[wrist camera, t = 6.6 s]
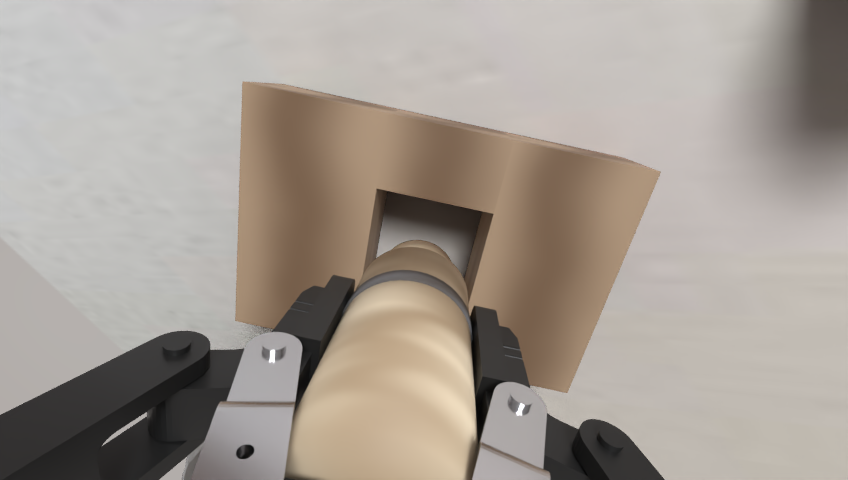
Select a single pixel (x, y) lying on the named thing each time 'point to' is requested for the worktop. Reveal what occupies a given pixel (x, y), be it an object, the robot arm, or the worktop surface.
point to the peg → (393, 379)
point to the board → (443, 182)
